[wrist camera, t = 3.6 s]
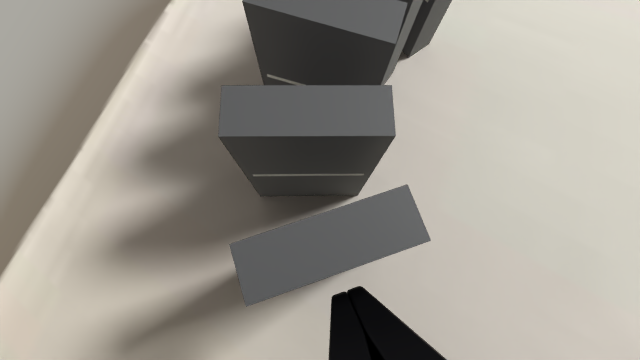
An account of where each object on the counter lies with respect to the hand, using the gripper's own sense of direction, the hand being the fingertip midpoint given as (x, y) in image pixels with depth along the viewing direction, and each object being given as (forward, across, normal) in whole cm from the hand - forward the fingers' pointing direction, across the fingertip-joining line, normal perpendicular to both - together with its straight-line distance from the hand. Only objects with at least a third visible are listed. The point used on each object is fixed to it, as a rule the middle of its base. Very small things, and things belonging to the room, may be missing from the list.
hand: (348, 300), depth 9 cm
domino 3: (+6, 0, +4) cm, 8 cm away
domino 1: (+11, -2, -1) cm, 12 cm away
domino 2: (+9, -1, +2) cm, 9 cm away
